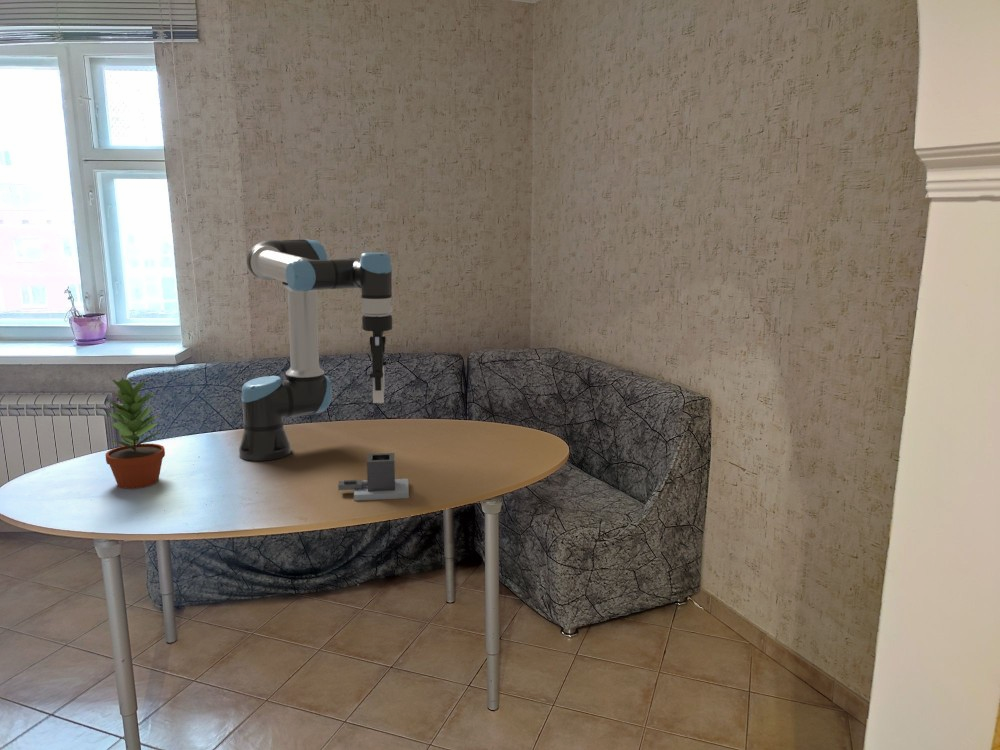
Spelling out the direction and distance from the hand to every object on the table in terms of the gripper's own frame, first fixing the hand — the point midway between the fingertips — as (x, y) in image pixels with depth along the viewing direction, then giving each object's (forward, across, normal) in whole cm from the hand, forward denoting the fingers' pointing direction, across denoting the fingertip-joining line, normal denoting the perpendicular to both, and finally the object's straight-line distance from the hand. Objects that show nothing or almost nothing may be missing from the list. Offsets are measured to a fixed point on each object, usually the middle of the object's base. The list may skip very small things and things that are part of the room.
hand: (379, 396), depth 195 cm
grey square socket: (+24, 0, +4) cm, 25 cm away
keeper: (+26, 0, 0) cm, 26 cm away
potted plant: (+26, +16, +66) cm, 73 cm away
